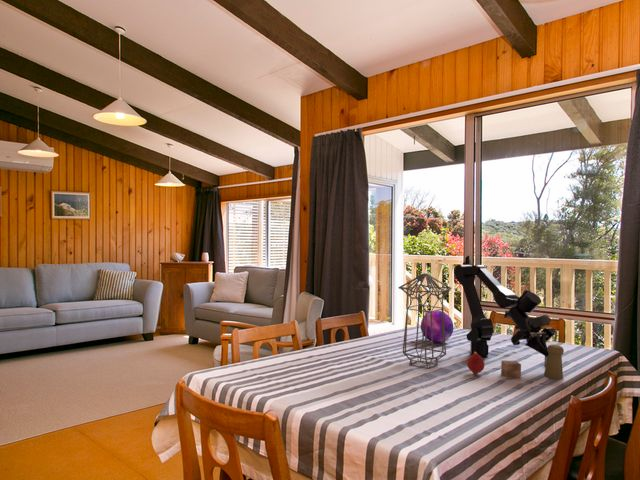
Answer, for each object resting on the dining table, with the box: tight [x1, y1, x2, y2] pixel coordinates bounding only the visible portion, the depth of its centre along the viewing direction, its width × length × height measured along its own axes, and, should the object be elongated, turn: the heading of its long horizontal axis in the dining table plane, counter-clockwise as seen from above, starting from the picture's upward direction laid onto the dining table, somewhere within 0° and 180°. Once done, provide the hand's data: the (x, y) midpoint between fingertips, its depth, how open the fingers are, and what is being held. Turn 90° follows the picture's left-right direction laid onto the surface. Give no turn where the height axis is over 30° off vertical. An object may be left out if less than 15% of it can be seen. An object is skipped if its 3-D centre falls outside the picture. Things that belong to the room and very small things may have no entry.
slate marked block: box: [544, 356, 548, 367], centre depth 181 cm, size 5×5×5 cm
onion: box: [466, 352, 485, 375], centre depth 166 cm, size 6×6×8 cm
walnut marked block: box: [500, 359, 522, 380], centre depth 164 cm, size 5×5×5 cm
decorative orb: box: [420, 310, 454, 344], centre depth 220 cm, size 15×15×15 cm
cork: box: [543, 344, 565, 380], centre depth 165 cm, size 6×6×11 cm
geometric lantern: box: [398, 272, 452, 370], centre depth 177 cm, size 16×16×35 cm
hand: (548, 355), depth 167 cm, fingers closed
